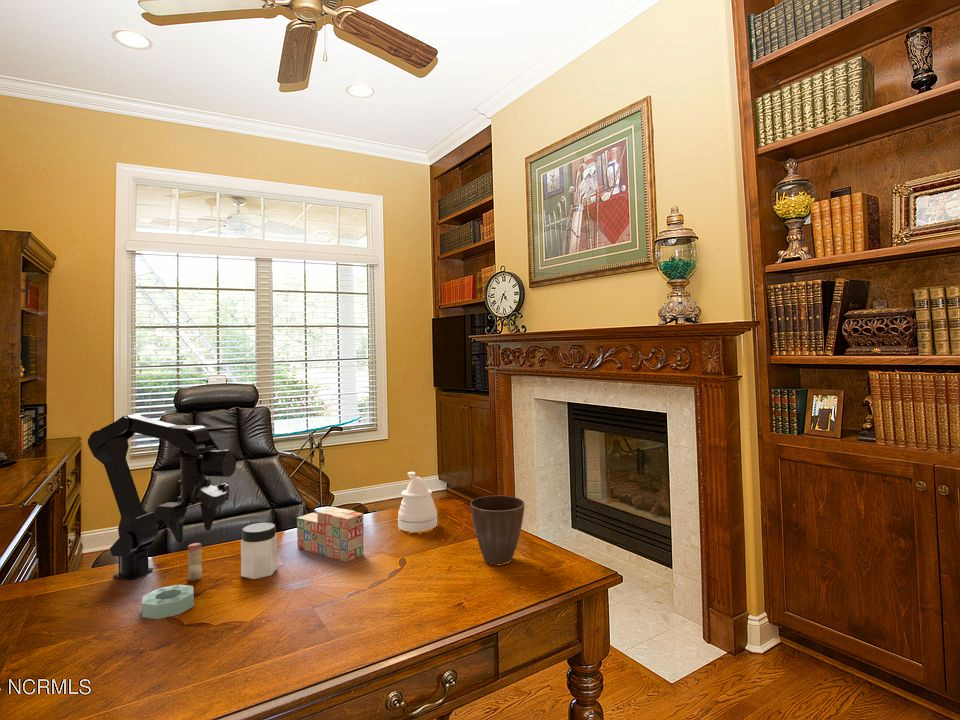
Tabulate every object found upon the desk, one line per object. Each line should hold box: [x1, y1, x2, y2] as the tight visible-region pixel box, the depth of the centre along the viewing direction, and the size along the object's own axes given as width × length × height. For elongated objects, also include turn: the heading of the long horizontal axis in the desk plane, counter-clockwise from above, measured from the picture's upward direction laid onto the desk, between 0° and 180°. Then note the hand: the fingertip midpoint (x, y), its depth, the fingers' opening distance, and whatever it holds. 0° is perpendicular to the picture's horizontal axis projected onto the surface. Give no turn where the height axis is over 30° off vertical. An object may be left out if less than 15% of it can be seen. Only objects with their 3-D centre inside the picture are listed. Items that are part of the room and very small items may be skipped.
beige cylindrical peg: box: [187, 542, 203, 581], centre depth 138 cm, size 3×3×8 cm
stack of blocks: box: [296, 506, 364, 563], centre depth 155 cm, size 21×6×12 cm, turn 58°
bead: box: [141, 584, 195, 620], centre depth 121 cm, size 10×10×3 cm
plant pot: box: [470, 495, 526, 564], centre depth 147 cm, size 15×15×16 cm
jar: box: [240, 522, 278, 580], centre depth 141 cm, size 9×8×12 cm
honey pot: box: [397, 471, 438, 532], centre depth 177 cm, size 13×13×18 cm
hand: (194, 536), depth 138 cm, fingers open, 9 cm apart
